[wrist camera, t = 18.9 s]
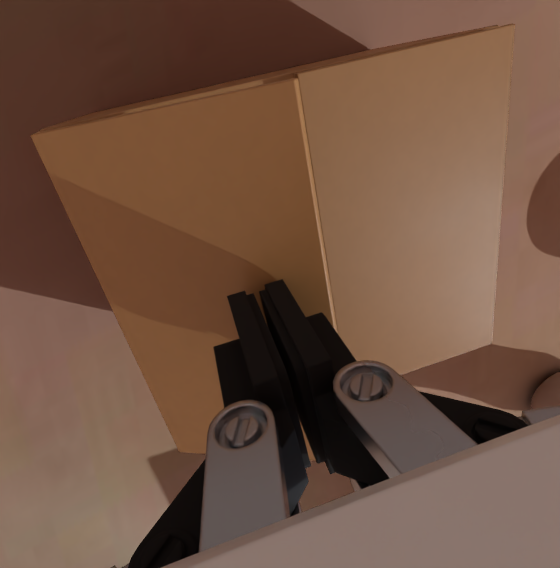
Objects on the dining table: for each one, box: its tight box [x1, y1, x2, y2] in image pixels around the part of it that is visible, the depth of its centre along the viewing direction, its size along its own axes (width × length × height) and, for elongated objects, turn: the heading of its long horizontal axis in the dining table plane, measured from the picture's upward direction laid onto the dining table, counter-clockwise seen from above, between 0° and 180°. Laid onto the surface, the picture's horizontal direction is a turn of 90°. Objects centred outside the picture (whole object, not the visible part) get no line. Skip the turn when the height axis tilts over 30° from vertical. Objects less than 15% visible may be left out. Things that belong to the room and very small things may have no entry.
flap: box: [31, 78, 338, 461], centre depth 13 cm, size 7×13×1 cm, turn 12°
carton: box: [39, 24, 515, 375], centre depth 19 cm, size 15×13×10 cm
